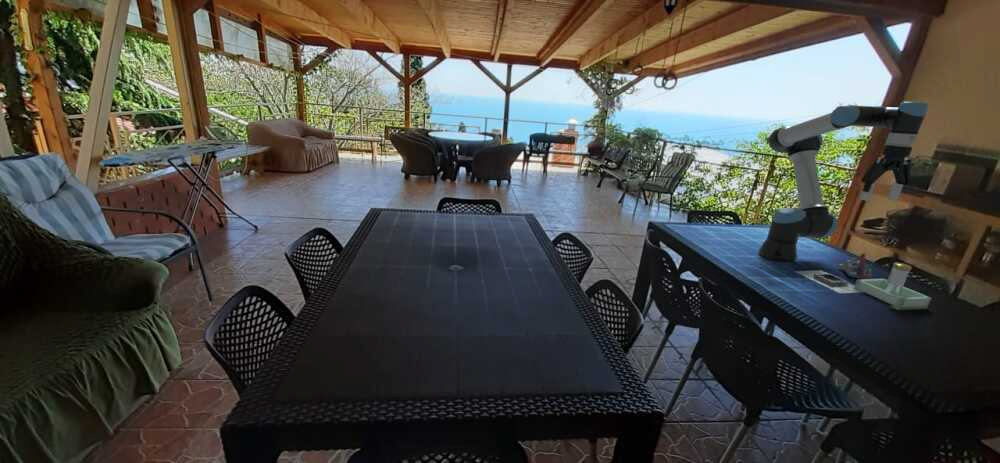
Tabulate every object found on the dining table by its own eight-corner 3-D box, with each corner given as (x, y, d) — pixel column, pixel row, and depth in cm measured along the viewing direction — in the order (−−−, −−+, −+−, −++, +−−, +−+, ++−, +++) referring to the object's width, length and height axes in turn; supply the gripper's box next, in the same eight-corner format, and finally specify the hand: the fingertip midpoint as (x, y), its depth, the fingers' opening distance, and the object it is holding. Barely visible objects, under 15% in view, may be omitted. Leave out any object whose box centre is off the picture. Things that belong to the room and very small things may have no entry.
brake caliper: (882, 280, 159) (868, 255, 159) (850, 290, 164) (836, 265, 164) (871, 270, 168) (858, 246, 168) (841, 279, 174) (828, 256, 174)
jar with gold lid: (877, 293, 149) (890, 262, 145) (887, 293, 150) (900, 262, 146) (891, 299, 145) (904, 267, 141) (901, 299, 146) (915, 267, 142)
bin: (853, 289, 155) (856, 279, 153) (879, 288, 157) (883, 278, 156) (898, 310, 140) (902, 299, 138) (926, 308, 142) (931, 298, 141)
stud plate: (793, 273, 167) (795, 268, 167) (820, 272, 170) (822, 267, 169) (839, 295, 149) (841, 289, 148) (868, 294, 151) (871, 288, 151)
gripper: (883, 145, 140) (862, 202, 146) (937, 147, 144) (914, 202, 151) (861, 143, 147) (842, 197, 153) (913, 144, 151) (893, 197, 158)
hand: (878, 200), depth 152 cm, fingers open, 13 cm apart
